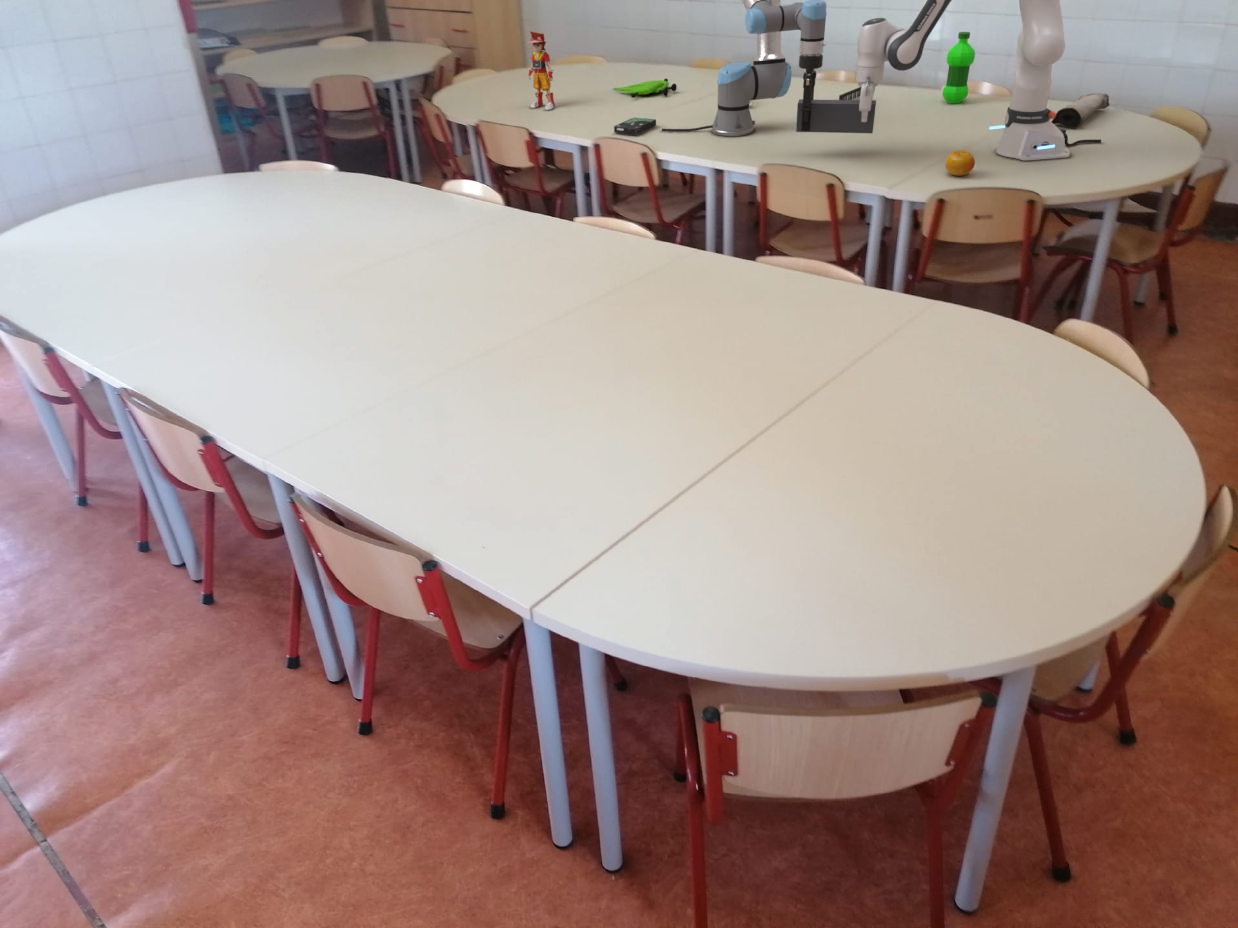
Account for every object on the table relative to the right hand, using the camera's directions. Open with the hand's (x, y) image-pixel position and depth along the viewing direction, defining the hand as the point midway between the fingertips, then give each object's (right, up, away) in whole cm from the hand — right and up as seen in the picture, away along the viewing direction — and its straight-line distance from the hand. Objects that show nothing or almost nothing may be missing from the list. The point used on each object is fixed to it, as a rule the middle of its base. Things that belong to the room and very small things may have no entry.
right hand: (864, 119), depth 296 cm
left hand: (-18, -1, +6) cm, 19 cm away
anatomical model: (-33, +34, +72) cm, 86 cm away
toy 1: (-114, +38, +86) cm, 148 cm away
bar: (-9, -2, +4) cm, 10 cm away
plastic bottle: (+51, +29, +58) cm, 83 cm away
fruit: (+25, -23, -15) cm, 38 cm away
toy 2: (-72, +51, +100) cm, 133 cm away
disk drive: (-75, +14, +49) cm, 91 cm away
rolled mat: (+87, +12, +30) cm, 93 cm away
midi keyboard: (+12, +30, +64) cm, 72 cm away
